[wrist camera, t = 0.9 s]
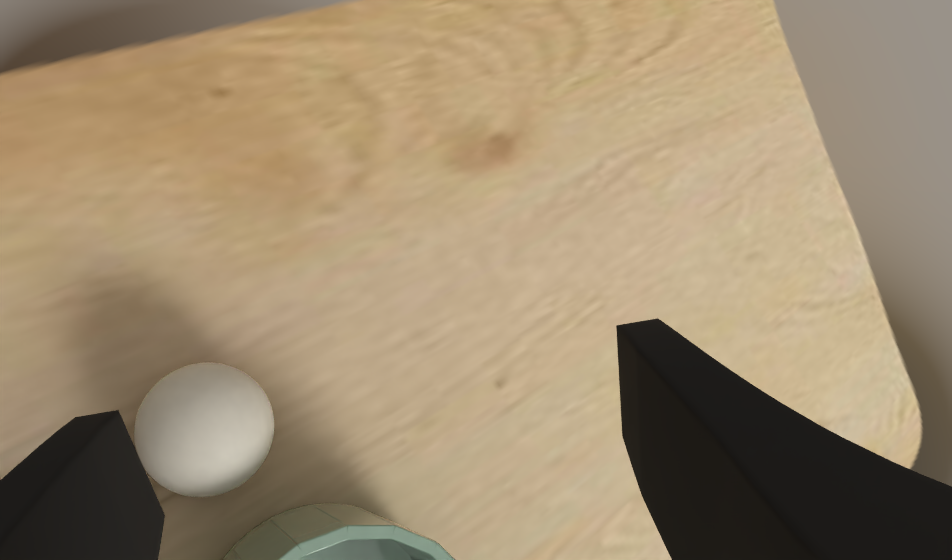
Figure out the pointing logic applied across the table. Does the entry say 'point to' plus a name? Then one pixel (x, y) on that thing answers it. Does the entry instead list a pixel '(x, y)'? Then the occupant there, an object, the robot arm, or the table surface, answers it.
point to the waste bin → (334, 537)
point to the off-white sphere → (204, 429)
